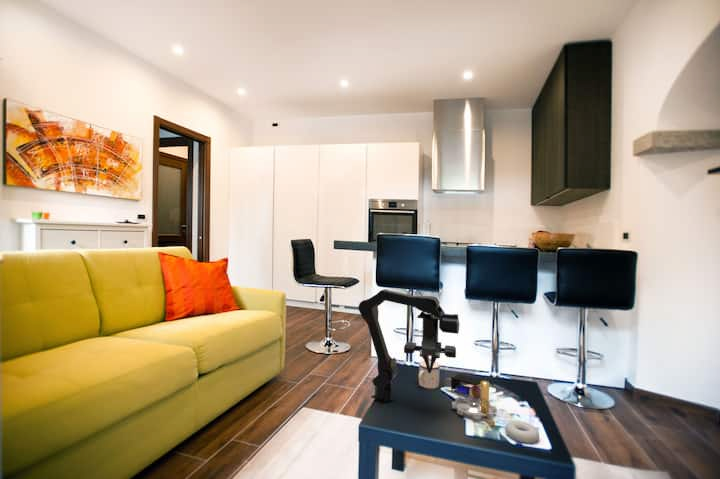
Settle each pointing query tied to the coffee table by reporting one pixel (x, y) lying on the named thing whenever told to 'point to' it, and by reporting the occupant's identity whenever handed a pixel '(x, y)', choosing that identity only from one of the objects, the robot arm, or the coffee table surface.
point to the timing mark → (490, 421)
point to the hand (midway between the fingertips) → (429, 372)
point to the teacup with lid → (429, 375)
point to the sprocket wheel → (476, 404)
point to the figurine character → (456, 384)
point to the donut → (522, 431)
